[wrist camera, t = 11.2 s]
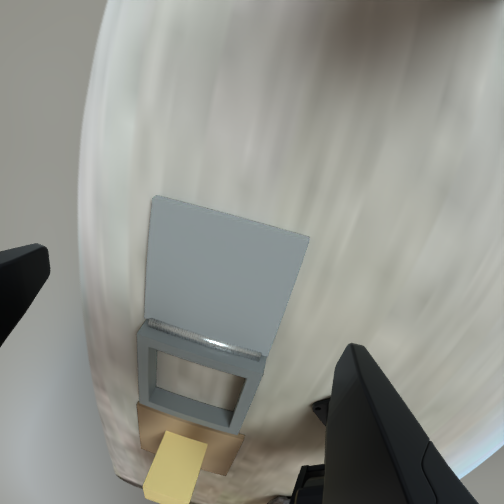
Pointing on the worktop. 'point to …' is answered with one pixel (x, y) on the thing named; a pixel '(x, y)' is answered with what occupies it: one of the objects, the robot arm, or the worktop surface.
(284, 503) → the perforated stone tool
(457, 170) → the worktop surface
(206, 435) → the walnut board
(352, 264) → the worktop surface
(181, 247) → the hinged window frame
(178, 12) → the worktop surface
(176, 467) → the block
